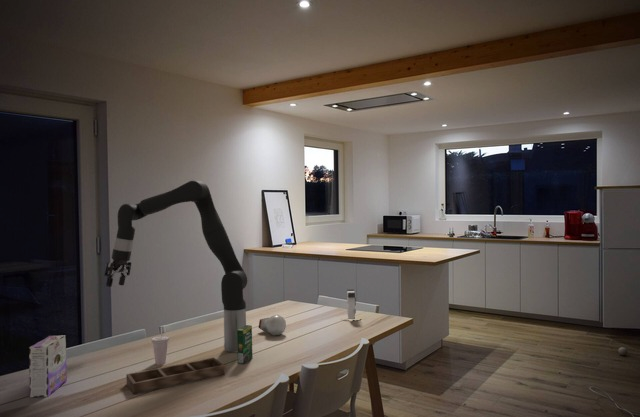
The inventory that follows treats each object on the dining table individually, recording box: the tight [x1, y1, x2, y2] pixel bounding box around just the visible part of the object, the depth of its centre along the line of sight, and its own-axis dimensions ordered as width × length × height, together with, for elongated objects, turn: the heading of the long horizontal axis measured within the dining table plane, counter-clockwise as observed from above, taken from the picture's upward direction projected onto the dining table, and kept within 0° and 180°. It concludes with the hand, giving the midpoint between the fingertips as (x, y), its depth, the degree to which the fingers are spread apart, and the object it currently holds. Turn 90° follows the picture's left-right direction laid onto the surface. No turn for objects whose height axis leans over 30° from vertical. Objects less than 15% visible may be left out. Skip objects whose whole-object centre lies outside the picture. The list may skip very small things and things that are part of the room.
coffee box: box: [237, 324, 253, 365], centre depth 184 cm, size 8×3×13 cm, turn 162°
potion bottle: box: [258, 314, 287, 336], centre depth 224 cm, size 9×10×15 cm
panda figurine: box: [346, 288, 357, 319], centre depth 252 cm, size 12×11×15 cm
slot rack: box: [125, 357, 226, 396], centre depth 165 cm, size 31×11×4 cm, turn 123°
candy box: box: [28, 334, 68, 398], centre depth 158 cm, size 14×6×16 cm, turn 5°
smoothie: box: [151, 326, 170, 366], centre depth 184 cm, size 6×6×14 cm
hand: (115, 285), depth 206 cm, fingers open, 8 cm apart
